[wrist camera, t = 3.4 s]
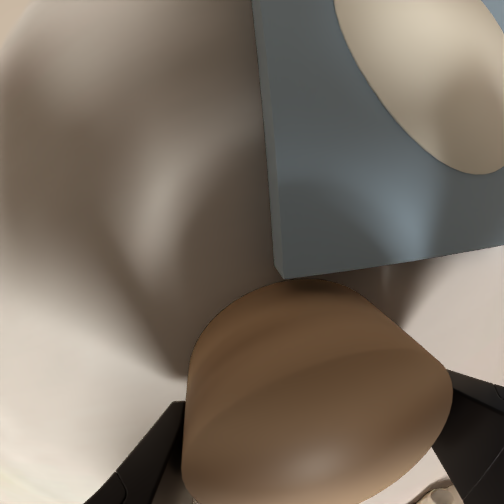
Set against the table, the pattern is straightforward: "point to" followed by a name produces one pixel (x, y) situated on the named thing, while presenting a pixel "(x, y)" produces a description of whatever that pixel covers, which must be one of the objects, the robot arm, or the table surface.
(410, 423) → the walnut pedestal
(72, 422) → the table surface
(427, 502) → the white egg tray
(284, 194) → the board
